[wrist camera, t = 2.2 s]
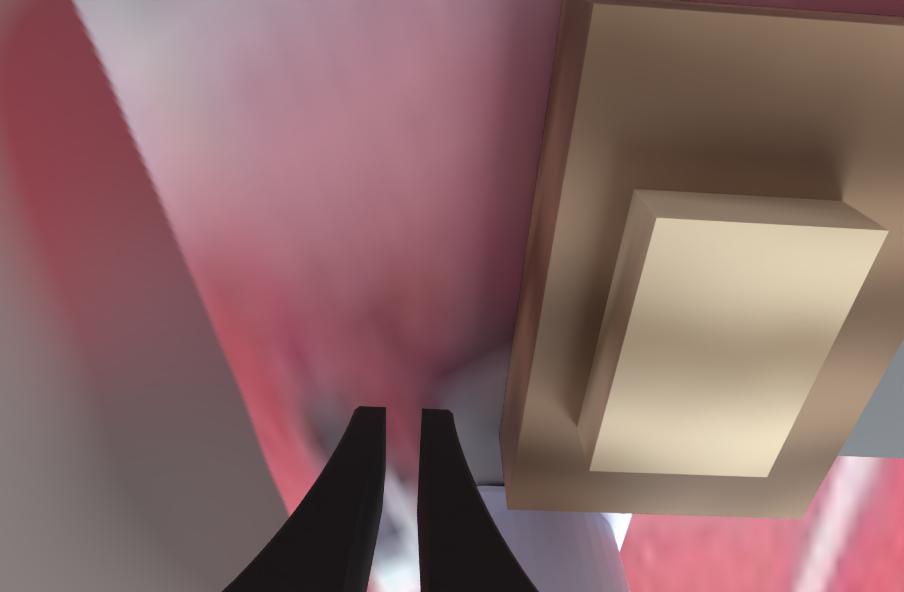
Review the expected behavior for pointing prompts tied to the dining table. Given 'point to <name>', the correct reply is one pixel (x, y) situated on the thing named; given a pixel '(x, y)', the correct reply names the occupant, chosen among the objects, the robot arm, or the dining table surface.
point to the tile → (718, 328)
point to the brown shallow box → (701, 171)
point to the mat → (881, 417)
